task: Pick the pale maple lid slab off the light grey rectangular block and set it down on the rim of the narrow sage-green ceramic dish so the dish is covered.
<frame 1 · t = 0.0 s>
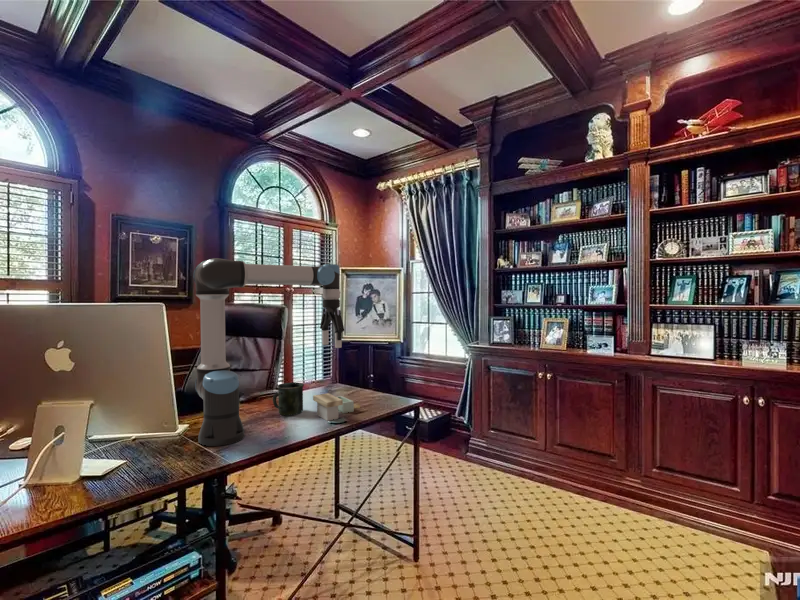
hand: (331, 346, 186), 28 cm above the table, fingers open, 13 cm apart
lid: (327, 402, 173), point 6 cm above the table, touching light grey rectangular block
mug: (287, 414, 179), on the table
dish: (342, 409, 184), on the table
light grey rectangular block: (327, 416, 173), on the table
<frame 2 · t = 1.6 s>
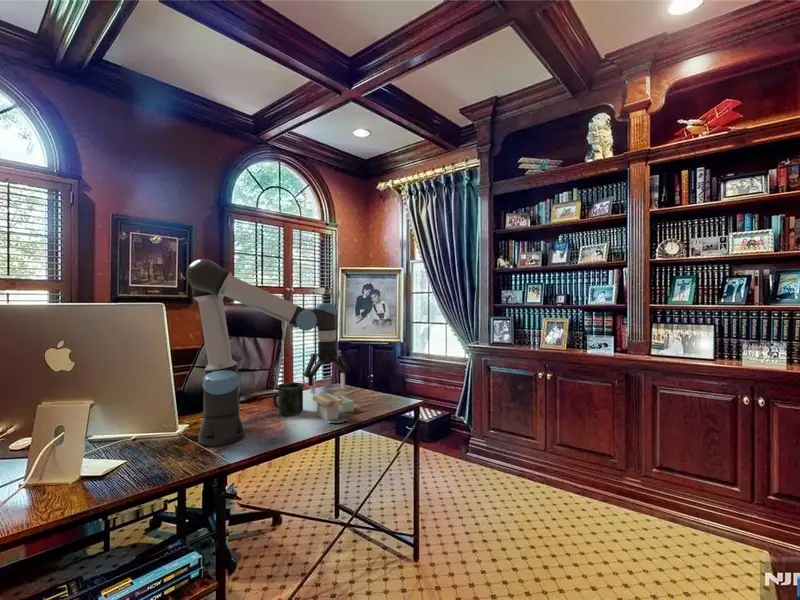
hand: (328, 391, 173), 11 cm above the table, fingers open, 13 cm apart
nothing on the table moved.
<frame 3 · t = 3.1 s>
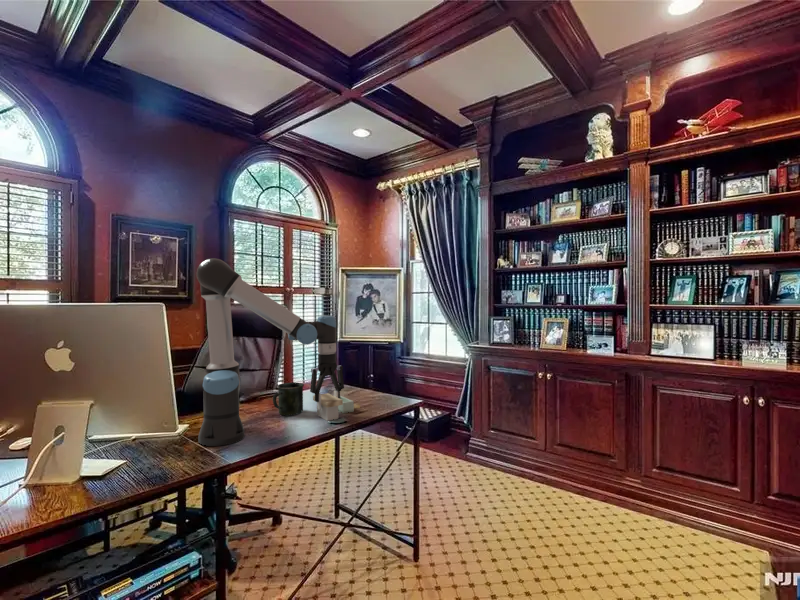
hand: (327, 407, 173), 4 cm above the table, fingers closed on lid, 7 cm apart
lid: (327, 402, 173), point 6 cm above the table, touching gripper, light grey rectangular block
everything else where it was.
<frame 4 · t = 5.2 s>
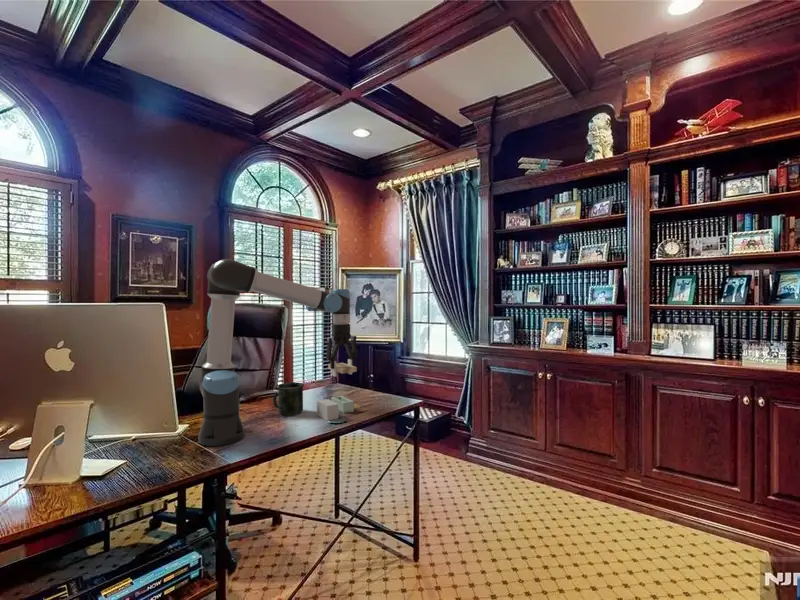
hand: (342, 374, 184), 15 cm above the table, fingers closed on lid, 7 cm apart
lid: (342, 370, 184), point 18 cm above the table, touching gripper
everything else where it was.
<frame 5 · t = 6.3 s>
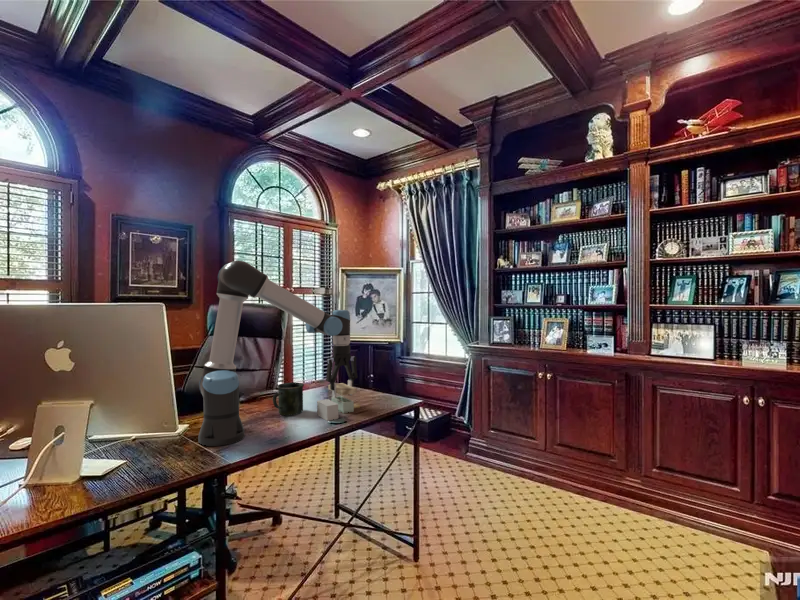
hand: (342, 395, 184), 6 cm above the table, fingers closed on lid, 7 cm apart
lid: (342, 391, 184), point 8 cm above the table, touching gripper
everything else where it was.
when the fingers open (3 cm above the table, at t = 7.2 s): lid stays where it is, resting on dish.
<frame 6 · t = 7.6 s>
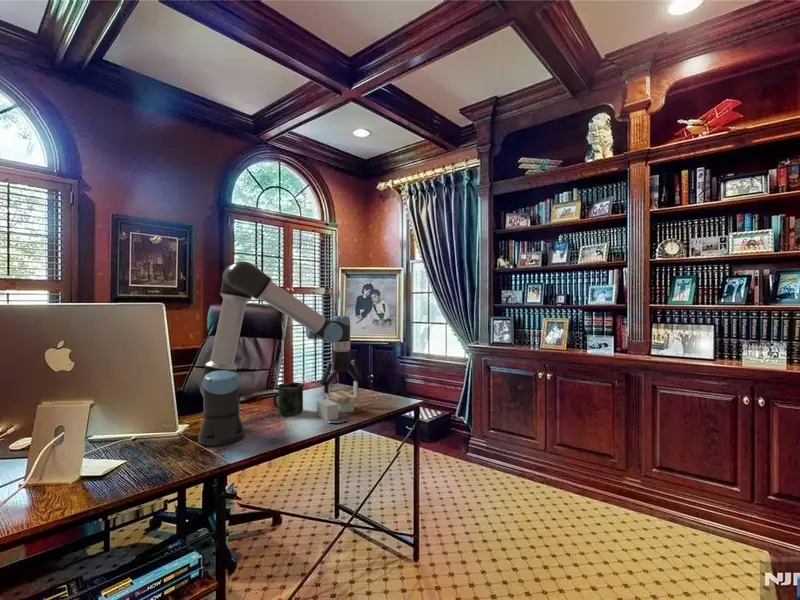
hand: (342, 398, 184), 5 cm above the table, fingers open, 13 cm apart
lid: (342, 399, 184), point 4 cm above the table, touching dish
everything else where it was.
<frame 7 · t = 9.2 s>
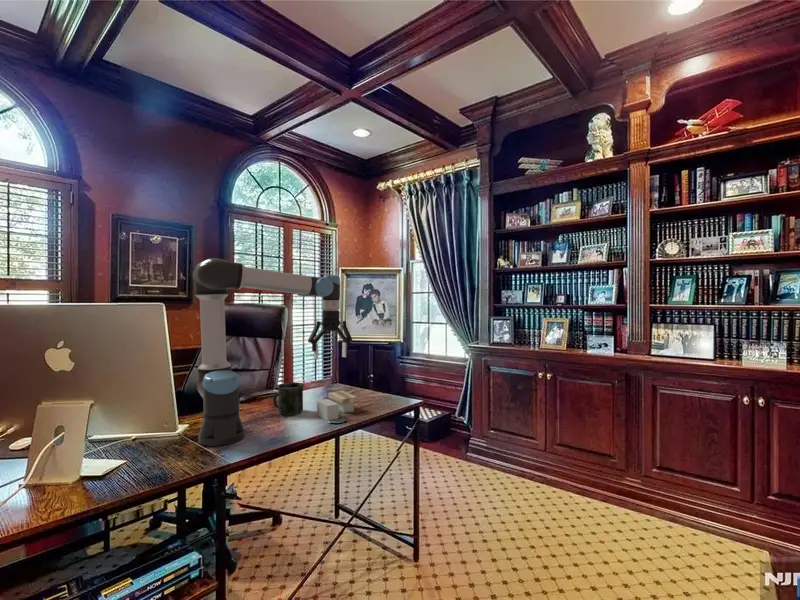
hand: (330, 358, 184), 23 cm above the table, fingers open, 13 cm apart
nothing on the table moved.
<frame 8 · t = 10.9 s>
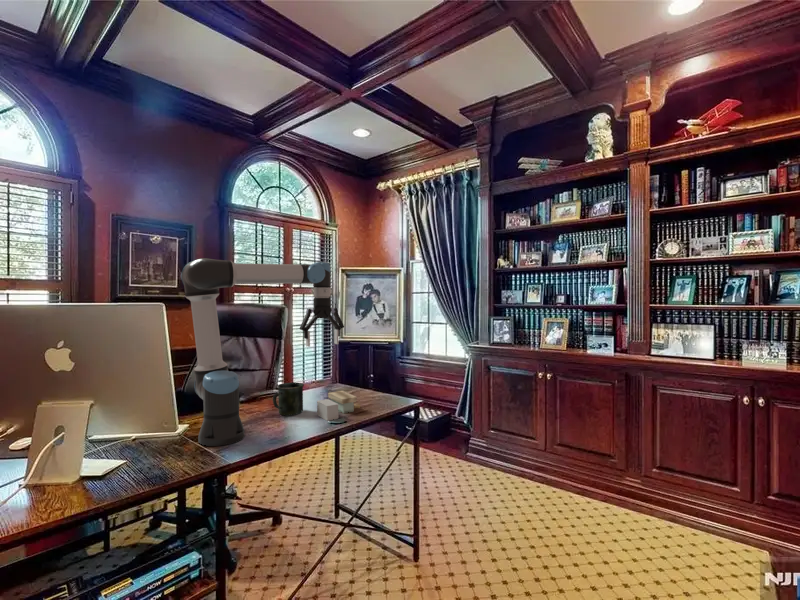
hand: (322, 345, 184), 29 cm above the table, fingers open, 13 cm apart
nothing on the table moved.
at the end: lid 0.0 cm off-centre on the dish, point 4.5 cm above the dish's base; lid tilted 0°; the gripper is holding nothing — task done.
